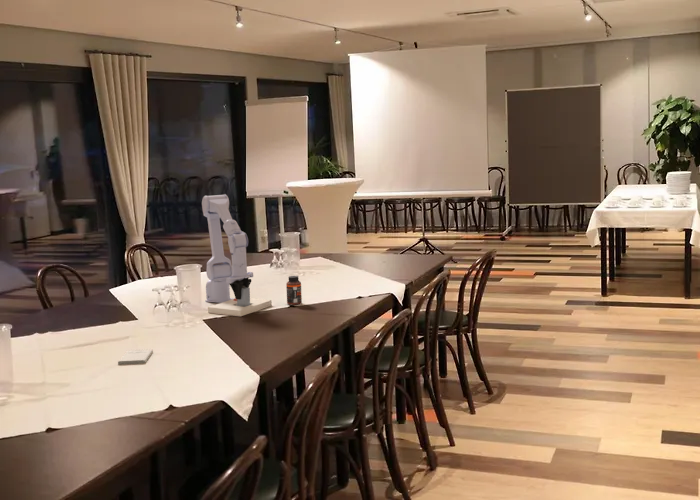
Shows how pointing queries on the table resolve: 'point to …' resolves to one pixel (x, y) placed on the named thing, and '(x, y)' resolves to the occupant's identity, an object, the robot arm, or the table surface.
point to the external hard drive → (135, 356)
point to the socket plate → (239, 307)
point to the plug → (244, 297)
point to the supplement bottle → (294, 291)
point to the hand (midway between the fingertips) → (241, 298)
